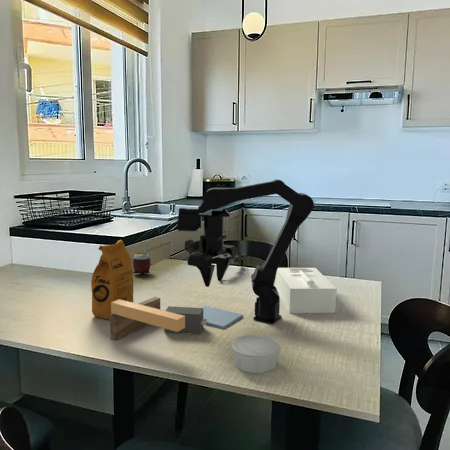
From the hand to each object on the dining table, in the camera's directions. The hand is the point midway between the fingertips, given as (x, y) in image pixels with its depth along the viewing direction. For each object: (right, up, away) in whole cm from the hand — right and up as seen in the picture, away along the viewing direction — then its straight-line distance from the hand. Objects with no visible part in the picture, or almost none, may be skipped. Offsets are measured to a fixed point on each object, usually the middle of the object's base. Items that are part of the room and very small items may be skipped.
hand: (213, 283), depth 126 cm
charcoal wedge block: (-8, -12, -7) cm, 16 cm away
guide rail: (-21, -12, -6) cm, 25 cm away
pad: (0, -11, +2) cm, 11 cm away
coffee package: (-31, -10, +6) cm, 33 cm away
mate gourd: (-31, -3, +51) cm, 59 cm away
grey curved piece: (+6, -3, +52) cm, 53 cm away
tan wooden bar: (-16, -7, -18) cm, 25 cm away
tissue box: (+30, -9, +19) cm, 36 cm away
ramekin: (+10, -16, -26) cm, 32 cm away
